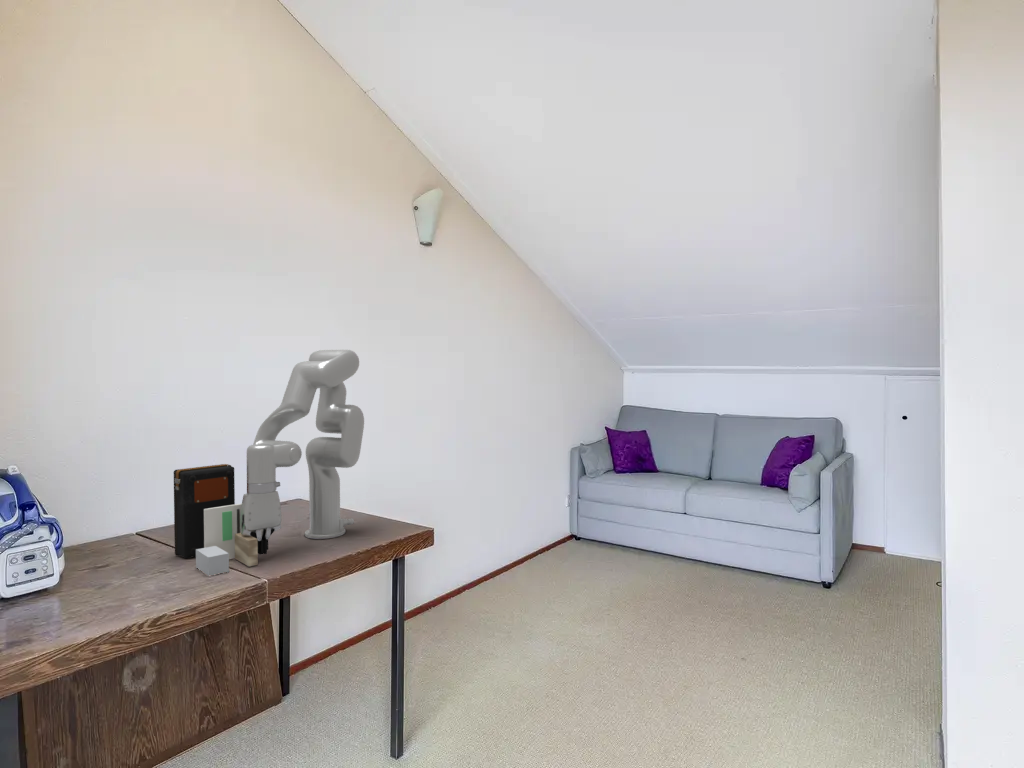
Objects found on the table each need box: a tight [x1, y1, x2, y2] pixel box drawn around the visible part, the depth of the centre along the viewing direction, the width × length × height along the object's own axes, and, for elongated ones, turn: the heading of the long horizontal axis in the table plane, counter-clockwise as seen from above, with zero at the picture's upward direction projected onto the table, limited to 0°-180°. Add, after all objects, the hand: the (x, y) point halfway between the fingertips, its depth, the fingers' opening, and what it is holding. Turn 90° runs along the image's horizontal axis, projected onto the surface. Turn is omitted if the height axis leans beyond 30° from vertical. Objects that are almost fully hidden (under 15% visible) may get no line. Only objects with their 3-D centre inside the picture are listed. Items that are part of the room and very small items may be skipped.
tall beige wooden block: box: [234, 509, 259, 567], centre depth 167 cm, size 2×11×14 cm, turn 44°
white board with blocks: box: [195, 502, 263, 577], centre depth 166 cm, size 19×13×15 cm
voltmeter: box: [173, 463, 236, 559], centre depth 177 cm, size 16×9×25 cm, turn 141°
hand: (261, 553), depth 170 cm, fingers closed
